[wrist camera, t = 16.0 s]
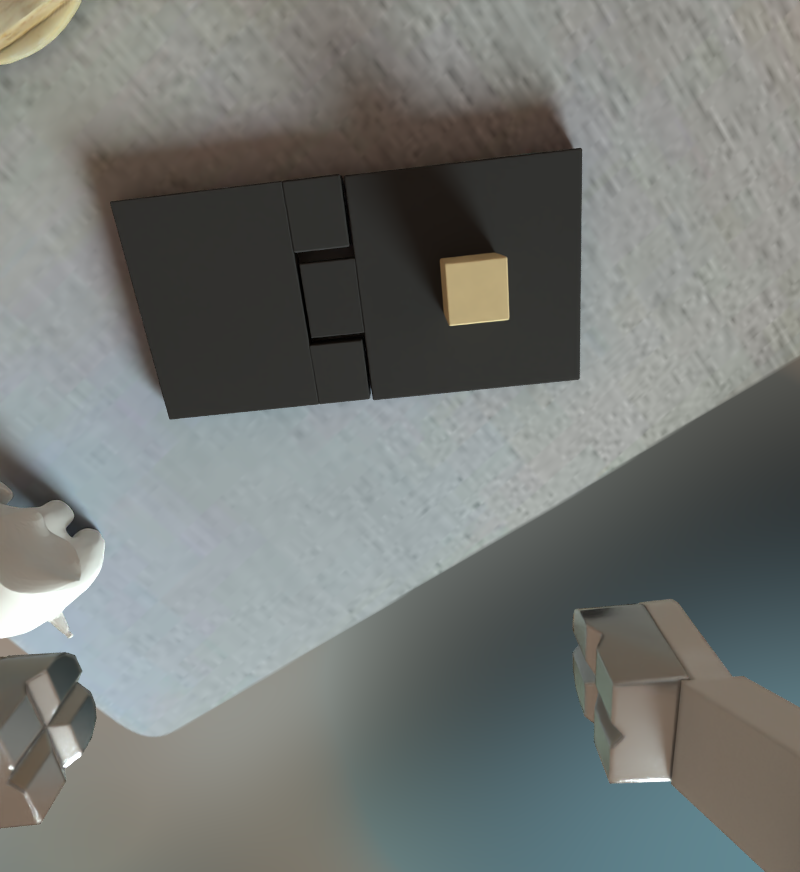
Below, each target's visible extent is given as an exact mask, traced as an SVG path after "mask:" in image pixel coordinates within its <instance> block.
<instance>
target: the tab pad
mask: <svg viewBox="0 0 800 872" xmlns="http://www.w3.org/2000/svg"><path fill="white" fill-rule="evenodd" d="M344 179H345V187H346V195H347V202H348V210H349V218H350V226H351V233H352V241H353V249H354V257H349V258H340V259H331V260H322V261H313V262H304V263H301V264H299V266H300V272H301V278H302V285H303V291H304V297H305V303H306V309H307V315H308V321H309V327H310V333H311V338H317V337H326V336H335V335H345V334H354V333H363V332H364V334H365V341H366V349H367V357H368V365H369V372H370V380H371V388H372V396H373V400H380V399H390V398H400V397H410V396H420V395H430V394H440V393H450V392H460V391H470V390H480V389H490V388H500V387H510V386H520V385H530V384H540V383H550V382H560V381H569V380H578V379H579V378H580V294H581V204H582V148H576V149H568V150H559V151H551V152H542V153H534V154H525V155H517V156H508V157H500V158H491V159H483V160H474V161H466V162H457V163H449V164H441V165H432V166H424V167H415V168H407V169H398V170H390V171H381V172H373V173H364V174H356V175H347V176H345V177H344Z"/></svg>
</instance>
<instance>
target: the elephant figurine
mask: <svg viewBox="0 0 800 872" xmlns="http://www.w3.org/2000/svg"><path fill="white" fill-rule="evenodd" d="M12 498H13V493H12V491H11V490H10V489H9V488H8V487H7V486H6V485H5V484H3V483H2V482H0V638H6V637H11V636H16V635H20V634H23V633H26V632H28V631H31V630H33V629H34V628H36V627H38V626H40V625H41V624H43V623H44V622H51V623H52V624H53V625H54V626H55V627H56V628H57V629H58V630H59V631H61V632H62V633H63V634H65V635H66V636H67V637H68V638H71V637H72V636H73V634H72V633H71V632H70V631H69V626H68V624H67V622H66V620H65V617H64V615H63V613H62V611H63V609H64V608H65V607H66V606H68V605H69V604H70V603H71V602H72V601H73V600H75V599H76V598H77V597H78V596H79V595H80V594H82V593H83V592H84V591H85V590H86V589H87V588H88V587H89V586H90V585H91V584H92V582H93V581H94V580H95V578H96V577H97V575H98V573H99V572H100V570H101V567H102V564H103V558H104V551H105V541H104V539H103V538H102V536H101V534H100V532H99V531H97V530H94V529H90V528H86V529H82V530H80V531H79V532H77V533H76V534H75V535H74V536H73V537H70V536H69V535H68V533H67V531H66V527H67V526H68V525H69V524H70V523H71V522H72V520H73V519H74V513H73V511H72V510H71V508H70V507H69V506H68V505H67V504H66V503H64V502H63V501H60V500H52V501H50V502H48V503H46V504H44V505H43V506H41V507H31V508H17V507H12V506H8V505H6V504H7V503H8V502H9V501H10V500H11V499H12Z"/></svg>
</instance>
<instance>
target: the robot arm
mask: <svg viewBox="0 0 800 872" xmlns="http://www.w3.org/2000/svg"><path fill="white" fill-rule="evenodd" d="M573 631H574V634H575V636H576V639H577V641H578V644H579V646H578V647H577V648H576V649H575V650H574V652H573V672H574V679H575V686H576V690H577V694H578V698H579V702H580V704H581V707H582V710H583V713H584V716H585V717H587V718H588V719H589V720H590V721H592V722H593V723H594V743H595V745H596V748H597V751H598V753H599V756H600V759H601V761H602V764H603V766H604V769H605V772H606V774H607V777H608V780H609V783H631V782H653V781H671V784H672V785H673V786H674V787H675V788H676V789H677V790H678V791H679V792H680V793H681V794H683V795H684V796H685V797H686V798H687V799H688V800H689V801H690V802H691V803H692V804H693V805H694V806H695V807H697V809H699V810H700V811H701V812H702V813H703V814H704V815H705V816H706V817H707V818H708V819H709V820H710V821H711V822H713V823H714V824H715V825H716V826H717V827H718V828H719V829H720V830H721V831H722V832H723V833H724V834H725V835H726V836H727V837H729V838H730V839H731V840H732V841H733V842H734V843H735V844H736V845H737V846H738V847H739V848H740V849H741V850H743V851H744V852H745V853H746V854H747V855H748V856H749V857H750V858H751V859H752V860H753V861H754V862H755V863H757V865H759V866H760V867H761V868H762V869H763V870H764V871H765V872H800V707H798V706H796V705H794V704H792V703H791V702H789V701H787V700H785V699H783V698H782V697H780V696H778V695H776V694H774V693H773V692H771V691H769V690H767V689H765V688H764V687H762V686H760V685H758V684H756V683H755V682H753V681H751V680H749V679H747V678H746V677H744V676H739V677H732V675H731V674H730V673H729V671H728V670H727V669H726V667H725V666H724V665H723V663H722V662H721V660H720V659H719V658H718V657H717V655H716V654H715V652H714V651H713V650H712V648H711V647H710V646H709V644H708V643H707V641H706V640H705V639H704V637H703V636H702V635H701V633H700V632H699V631H698V629H697V628H696V627H695V625H694V624H693V622H692V621H691V620H690V618H689V617H688V616H687V615H686V613H685V612H684V610H683V609H682V608H681V606H680V605H679V603H677V602H676V601H674V600H672V599H667V600H658V601H649V602H640V603H639V604H627V605H616V606H605V607H594V608H583V609H575V611H574V615H573ZM81 673H82V669H81V667H80V665H79V663H78V661H77V658H76V656H75V655H73V654H69V653H66V652H62V653H46V654H29V655H13V656H7V657H0V828H8V827H18V826H27V825H37V824H41V822H42V820H43V819H44V817H45V815H46V814H47V812H48V810H49V809H50V807H51V805H52V804H53V802H54V801H55V799H56V797H57V796H58V794H59V792H60V791H61V789H62V787H63V786H64V784H65V782H66V777H65V768H66V767H67V766H68V765H70V764H71V763H72V762H74V761H75V760H76V759H77V758H79V757H80V756H81V755H82V754H83V752H84V750H85V749H86V747H87V745H88V743H89V741H90V740H91V738H92V734H93V730H94V726H95V722H96V707H95V702H94V699H93V696H92V694H91V692H90V691H89V690H88V689H86V688H85V687H83V686H82V685H81V684H79V683H78V680H79V677H80V675H81Z"/></svg>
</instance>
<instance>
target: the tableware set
mask: <svg viewBox="0 0 800 872" xmlns="http://www.w3.org/2000/svg"><path fill="white" fill-rule="evenodd" d="M81 1H82V0H0V65H3V64H10V63H13V62H15V61H18V60H20V59H23V58H25V57H28V56H30V55H32V54H34V53H35V52H37V51H39V50H41V49H42V48H43V47H45V46H46V45H47V44H49V43H50V42H51V41H53V40H54V39H55V38H56V37H57V36H58V35H59V34H60V33H61V32H62V31H63V29H64V28H65V27H66V26H67V24H68V23H69V22H70V20H71V19H72V17H73V16H74V14H75V13H76V11H77V9H78V8H79V6H80V3H81Z"/></svg>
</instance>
